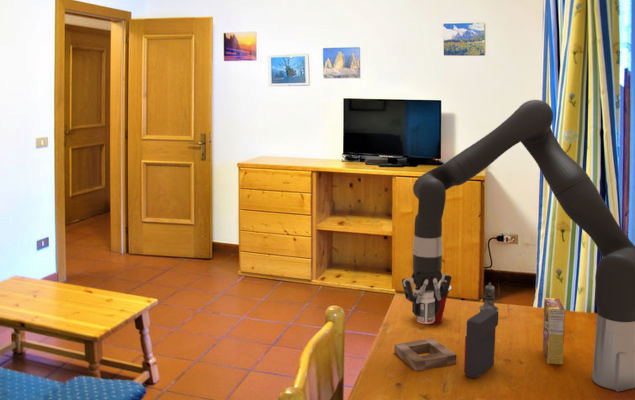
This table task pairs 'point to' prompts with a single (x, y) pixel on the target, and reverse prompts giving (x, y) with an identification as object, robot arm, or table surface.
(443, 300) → the plastic cup
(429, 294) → the pill bottle
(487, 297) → the rusty flanged peg
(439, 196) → the robot arm
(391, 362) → the table surface
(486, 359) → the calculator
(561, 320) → the candy box
